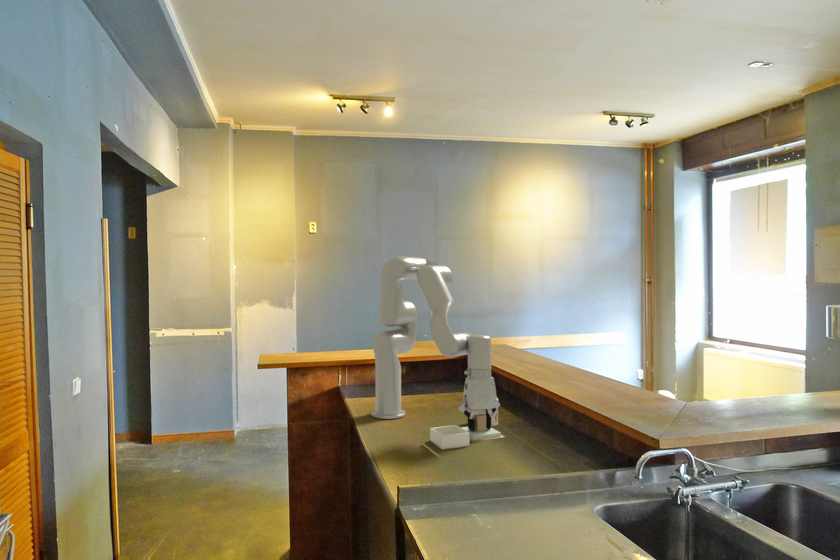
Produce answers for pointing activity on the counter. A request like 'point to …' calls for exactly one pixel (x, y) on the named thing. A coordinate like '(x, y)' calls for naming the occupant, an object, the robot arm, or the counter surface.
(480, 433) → the lid
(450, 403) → the counter surface
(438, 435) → the white open square tray
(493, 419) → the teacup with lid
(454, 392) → the counter surface
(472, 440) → the mat
